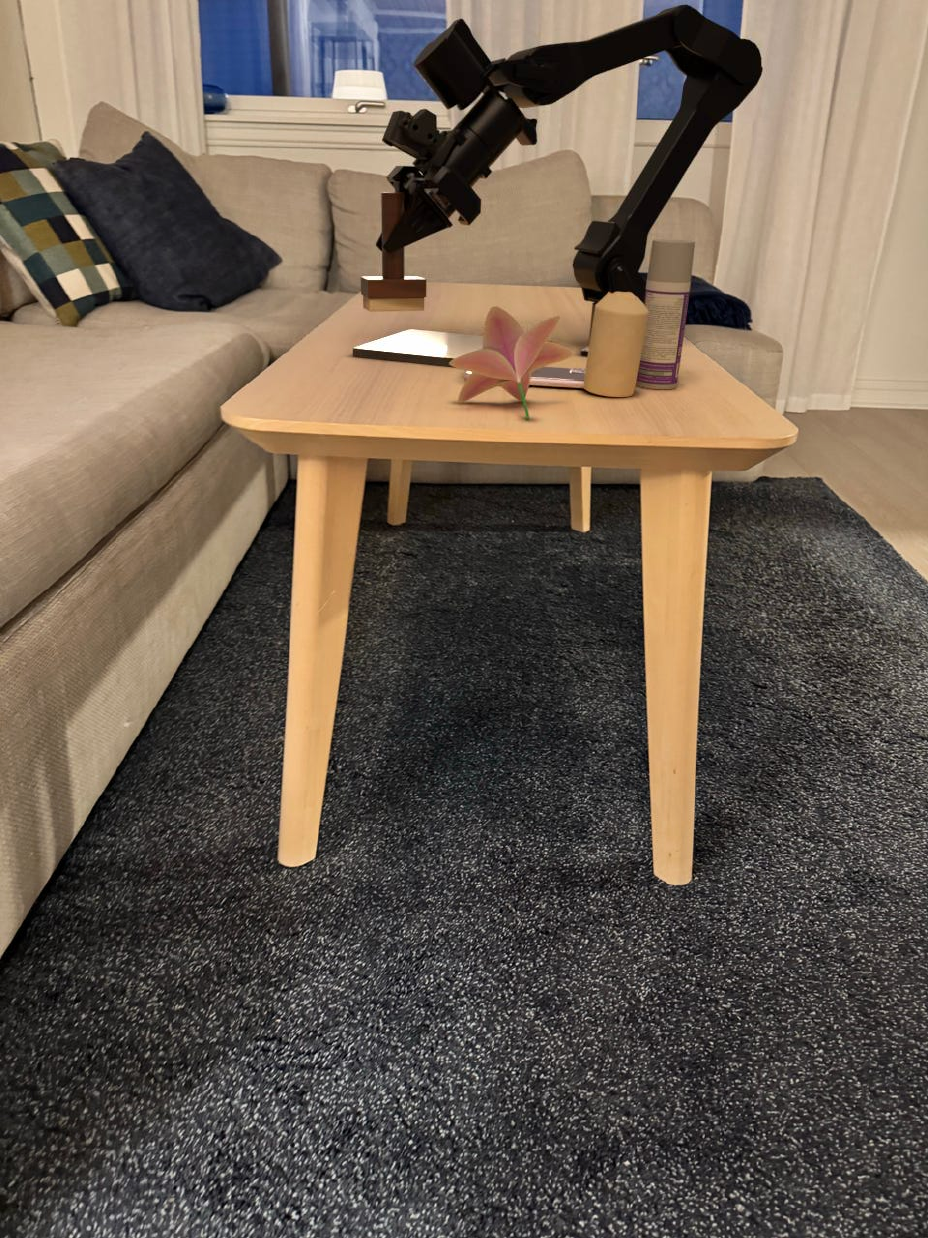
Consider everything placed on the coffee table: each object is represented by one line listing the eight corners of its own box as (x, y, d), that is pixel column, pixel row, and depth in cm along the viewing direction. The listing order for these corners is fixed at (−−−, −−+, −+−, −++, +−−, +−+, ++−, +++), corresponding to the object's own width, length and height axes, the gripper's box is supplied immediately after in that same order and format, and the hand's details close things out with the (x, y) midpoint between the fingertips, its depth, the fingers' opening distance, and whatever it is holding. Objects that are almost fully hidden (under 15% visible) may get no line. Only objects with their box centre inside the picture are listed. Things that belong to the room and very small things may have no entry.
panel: (410, 336, 127) (410, 328, 126) (513, 346, 122) (513, 338, 122) (352, 356, 111) (352, 347, 111) (467, 368, 107) (467, 359, 107)
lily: (587, 416, 91) (564, 323, 91) (586, 393, 80) (560, 286, 80) (472, 448, 93) (450, 357, 93) (455, 429, 81) (429, 325, 81)
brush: (361, 307, 108) (358, 191, 102) (417, 306, 110) (418, 192, 104) (368, 311, 105) (366, 192, 99) (426, 310, 107) (427, 193, 101)
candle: (633, 400, 95) (650, 300, 90) (580, 393, 95) (595, 293, 90) (635, 387, 99) (652, 292, 95) (585, 381, 100) (599, 285, 95)
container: (650, 379, 105) (667, 238, 98) (685, 386, 102) (705, 241, 95) (626, 383, 102) (642, 239, 95) (661, 391, 99) (680, 242, 92)
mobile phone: (471, 360, 105) (601, 367, 104) (471, 368, 106) (600, 376, 104) (462, 372, 99) (601, 381, 97) (462, 381, 99) (600, 390, 98)
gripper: (403, 88, 106) (313, 191, 107) (455, 75, 90) (350, 195, 92) (464, 166, 112) (379, 262, 113) (524, 166, 96) (424, 277, 98)
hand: (381, 249), depth 104 cm, fingers closed on brush, 2 cm apart
